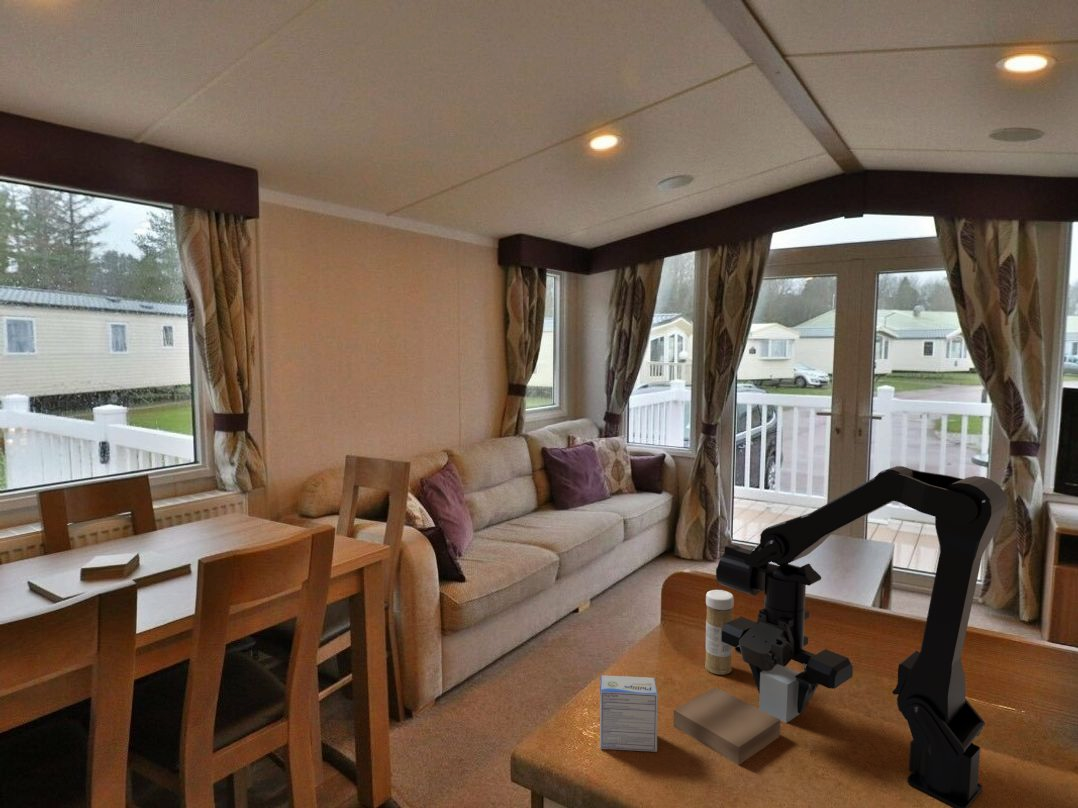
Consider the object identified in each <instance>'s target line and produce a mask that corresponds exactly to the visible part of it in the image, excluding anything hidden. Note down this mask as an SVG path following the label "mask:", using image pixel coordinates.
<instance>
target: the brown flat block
mask: <svg viewBox="0 0 1078 808" xmlns="http://www.w3.org/2000/svg"><path fill="white" fill-rule="evenodd" d="M673 727H674V728H675V729H677V730H678V731H680V732H682V733H684V734H685V735H687V736H689V737H690V738H692V739H694V740H695V741H697V742H699V743H700V744H703V745H704V746H706V747H707V748H708V749H710V750H712V751H714V752H715V753H717V754H719V755H720V756H722V757H723V758H725V759H726V760H729V761H730V762H732V763H733V764H735V765H737V766H739V765H742V763H745V762H746V761H747V760H748V759H750V758H751V757H752V756H754V755H756V754H757V753H759V752H760V751H762V750H763V749H764V748H766V747H767V746H769V745H770V744H771V743H773V742H775V741H776V740H777V739H778V738H780V737H781V735H780V734H781V720H780V719H778V718H776V717H774V716H772V715H770V714H768V713H766V712H764V711H762V710H760V709H759V707H756V706H754V705H752V704H751V703H748V702H746V701H745V700H742V699H740V698H738V697H736V696H734V695H732V694H730V693H728V692H726V691H725V690H722V689H721V688H718V687H716V686H715V687H713V688H711V689H710V690H708V691H706V692H704V693H701V694H700V695H699V696H697V697H695V698H693V699H691V700H690V701H688V702H686V703H684V704H682V705H680V706H678V707H676V708H675V709H673Z"/></svg>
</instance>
